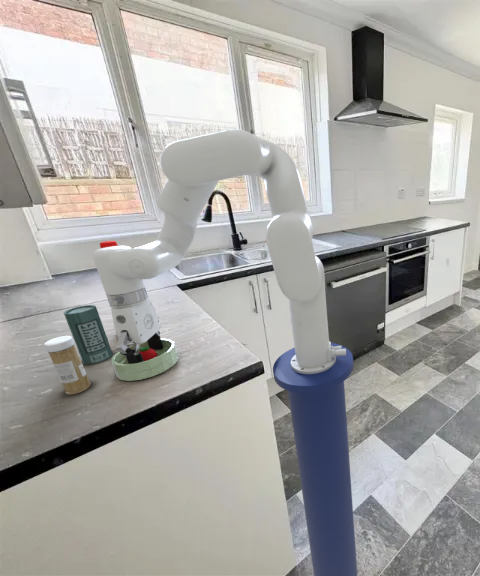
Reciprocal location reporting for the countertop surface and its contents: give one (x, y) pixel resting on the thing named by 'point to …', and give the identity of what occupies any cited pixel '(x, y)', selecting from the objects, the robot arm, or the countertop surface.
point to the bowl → (145, 363)
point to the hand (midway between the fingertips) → (148, 358)
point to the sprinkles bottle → (67, 364)
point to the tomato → (147, 353)
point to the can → (88, 334)
